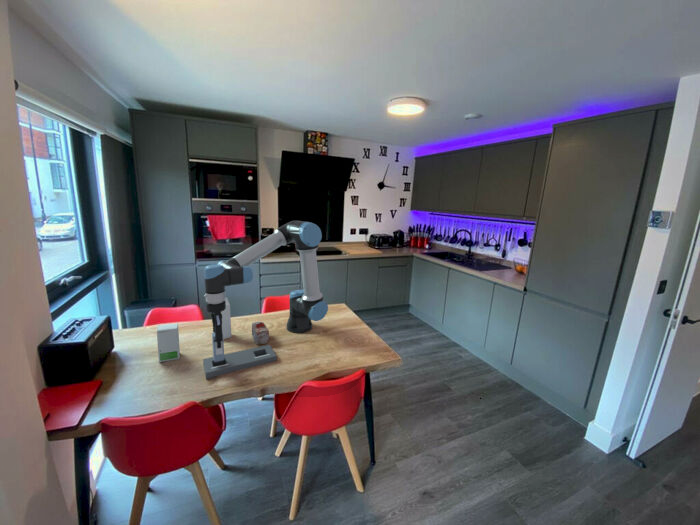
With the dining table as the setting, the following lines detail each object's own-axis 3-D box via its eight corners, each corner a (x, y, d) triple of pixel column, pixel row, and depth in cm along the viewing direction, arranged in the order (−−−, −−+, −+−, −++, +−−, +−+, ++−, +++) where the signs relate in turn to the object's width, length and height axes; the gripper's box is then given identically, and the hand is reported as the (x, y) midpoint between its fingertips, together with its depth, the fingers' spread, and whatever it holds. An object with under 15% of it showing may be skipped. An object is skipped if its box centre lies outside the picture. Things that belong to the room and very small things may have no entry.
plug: (223, 355, 129) (221, 329, 127) (224, 359, 126) (223, 333, 123) (213, 357, 127) (211, 331, 125) (214, 362, 124) (212, 334, 121)
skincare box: (158, 362, 130) (155, 331, 127) (160, 355, 136) (157, 325, 132) (180, 358, 134) (177, 328, 130) (180, 352, 139) (178, 322, 136)
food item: (271, 344, 151) (270, 327, 149) (255, 347, 147) (255, 330, 144) (264, 333, 162) (263, 317, 160) (249, 336, 158) (249, 320, 156)
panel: (269, 349, 145) (269, 344, 144) (276, 361, 135) (276, 355, 134) (203, 365, 130) (203, 358, 129) (206, 379, 120) (205, 372, 119)
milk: (231, 337, 156) (230, 299, 152) (220, 340, 152) (218, 301, 148) (227, 333, 161) (225, 295, 156) (216, 336, 157) (214, 298, 152)
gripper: (204, 296, 126) (207, 344, 131) (207, 309, 112) (211, 363, 117) (222, 294, 130) (224, 341, 135) (228, 306, 116) (230, 358, 121)
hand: (218, 351), depth 126 cm, fingers closed on plug, 4 cm apart
